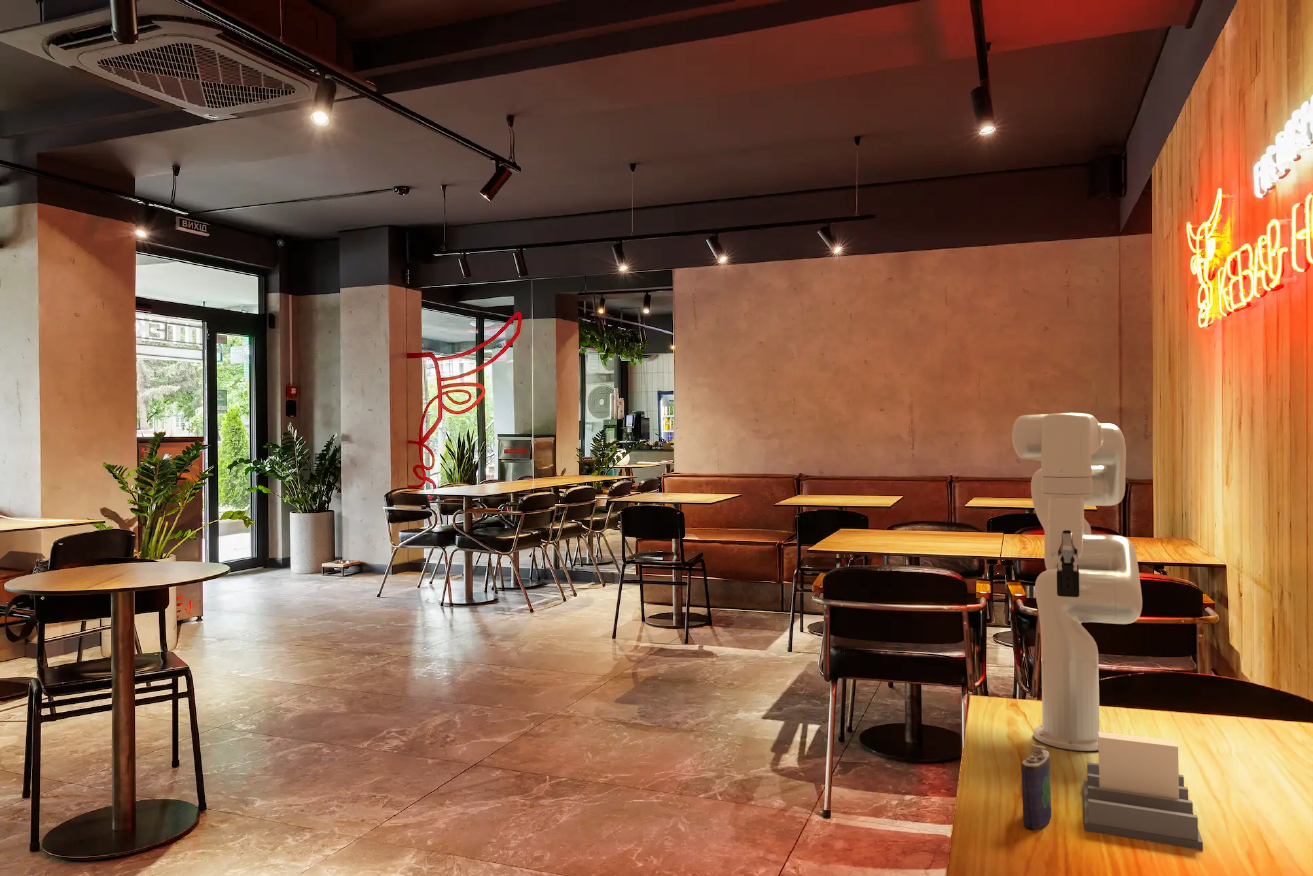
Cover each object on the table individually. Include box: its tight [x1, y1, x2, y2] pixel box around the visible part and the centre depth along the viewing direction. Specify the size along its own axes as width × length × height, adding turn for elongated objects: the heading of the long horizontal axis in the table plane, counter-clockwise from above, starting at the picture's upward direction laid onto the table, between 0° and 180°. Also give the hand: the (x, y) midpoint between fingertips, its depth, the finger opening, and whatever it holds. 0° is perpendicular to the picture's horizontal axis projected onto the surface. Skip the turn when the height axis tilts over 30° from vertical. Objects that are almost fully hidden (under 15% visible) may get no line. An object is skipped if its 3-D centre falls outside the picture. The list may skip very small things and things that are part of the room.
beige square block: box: [1098, 731, 1180, 799], centre depth 125 cm, size 3×10×10 cm, turn 64°
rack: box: [1083, 761, 1204, 851], centre depth 125 cm, size 18×14×4 cm
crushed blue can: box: [1020, 743, 1053, 832], centre depth 123 cm, size 9×3×11 cm, turn 144°
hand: (1068, 592), depth 141 cm, fingers open, 9 cm apart
